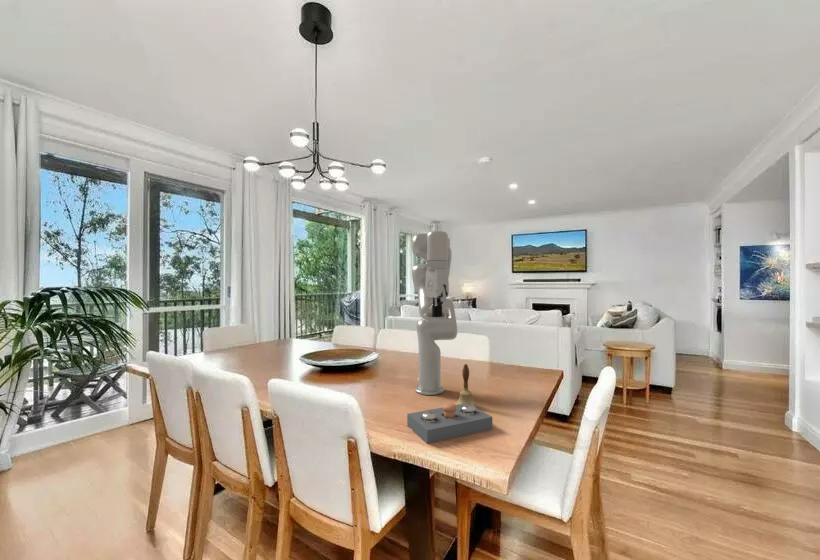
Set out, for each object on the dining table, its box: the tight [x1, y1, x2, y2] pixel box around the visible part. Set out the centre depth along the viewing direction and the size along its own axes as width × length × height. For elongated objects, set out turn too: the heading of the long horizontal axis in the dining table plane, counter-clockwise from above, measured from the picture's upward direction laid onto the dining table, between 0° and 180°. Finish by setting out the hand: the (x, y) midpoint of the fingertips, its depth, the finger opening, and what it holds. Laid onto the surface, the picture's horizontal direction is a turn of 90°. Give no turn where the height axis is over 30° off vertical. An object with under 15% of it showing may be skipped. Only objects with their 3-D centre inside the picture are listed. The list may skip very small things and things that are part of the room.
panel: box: [406, 403, 493, 445], centre depth 117 cm, size 14×24×4 cm, turn 115°
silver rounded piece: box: [462, 405, 475, 415], centre depth 120 cm, size 4×4×5 cm
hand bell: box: [454, 363, 478, 409], centre depth 136 cm, size 8×8×16 cm
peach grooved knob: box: [442, 403, 456, 419], centre depth 117 cm, size 4×4×5 cm
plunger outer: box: [422, 412, 436, 423], centre depth 114 cm, size 4×4×5 cm
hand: (437, 316), depth 128 cm, fingers closed
